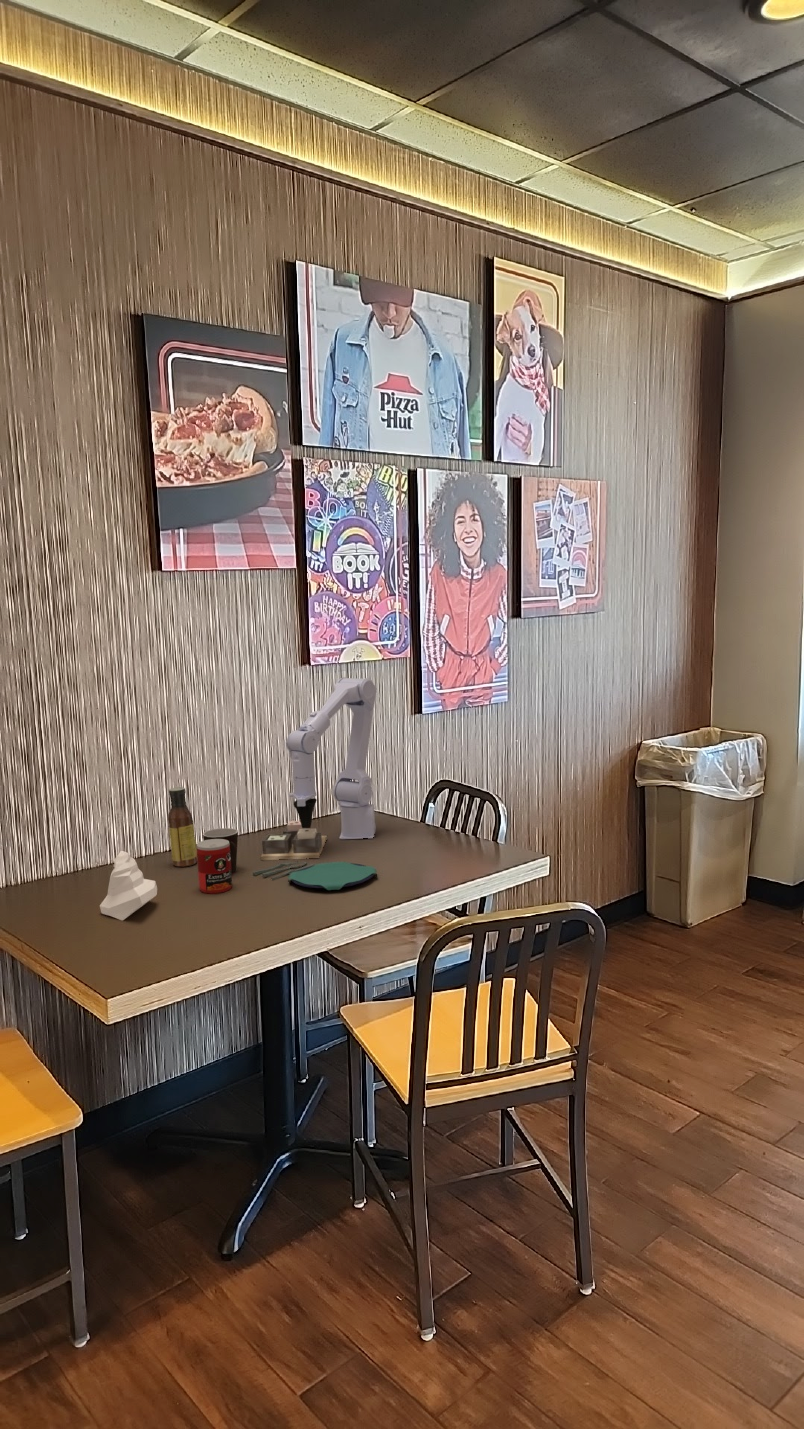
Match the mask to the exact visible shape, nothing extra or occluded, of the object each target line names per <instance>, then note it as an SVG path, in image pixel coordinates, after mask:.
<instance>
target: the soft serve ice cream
mask: <svg viewBox="0 0 804 1429" xmlns="http://www.w3.org/2000/svg"><path fill="white" fill-rule="evenodd" d="M112 862H113V863H114V864H113V865H112V866H113V867H114V868H113V869H112V871H111V874H110V877H109V883H108V888H107V895H106V896H105V898H104V899H103V900H102V901H101V903H100V905H99V909H100V913H101V914H102V915H104V916H105V915H106V916H110V917H112V918H115V919H117V920H119V921H124V920H126V919H127V918H128V917H130V916H131V915H133V913H135V912H136V911H138V910H139V909H140V908H142V907H144V905H146V904H147V903H148V902H150V901H151V900H152V899H154V898H155V897H157V893H158V886H157V882H156V880H152V879H147V878H144V874H143V872H142V870H140V869H139V866H138V863H137V861H136V860H135V858H133V857H132V856H131V855H130V853H129V852H126V851H123V850H120V851H119V853H118V854H117V856H116V857H115V858H114V860H113V861H112Z"/></svg>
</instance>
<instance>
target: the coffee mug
mask: <svg viewBox="0 0 804 1429" xmlns="http://www.w3.org/2000/svg"><path fill="white" fill-rule="evenodd" d="M238 836H239V830H238V829H236V828H231V827H222V828H221V827H219V828H214V829H210V830H206V831H204V832H203V833H202V838H203V841H204V840H210V839H225V840H228V841H229V844H230V857H231V873H232V874H234V873H236V872H237V860H238V859H237V858H238V857H237V856H238V840H239V838H238Z"/></svg>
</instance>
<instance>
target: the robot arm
mask: <svg viewBox="0 0 804 1429" xmlns="http://www.w3.org/2000/svg"><path fill="white" fill-rule="evenodd" d="M376 695H377V687H376V685H375V683H374V681H373V680H372V679H371V678H370V677H369V678H368V677H364V678H357V677H356V678H355V677H354V678H353V677H344V676H343V677H341V678H339V679H337V682H335V684H333V691H332V693H331V695H330V696H329V698H328V699H327V700H326V701H325V703H324V705H323V706H322V707H321V709H319V710H315V711H312V712H310V714H309V716H308V717H307V719H306V720H305V721H304V722H303V724H301V725H300V726H299V728H298V729H297V730H293V731H292V732H291V733H289V734H288V736H287V737H286V738H287V739H286V742H285V746H286V749H287V751H288V752H289V757H290V759H291V768H292V785H293V789H292V790H293V792H290V793H289V794H288V795H289V797H291V798H292V797H293V798H294V799H295V800H294V801H293V807H294V808H295V809H296V812H297V814H298V818H299V821H300V822H301V826H302V828H310V827H311V828H312V822H313V821H312V820H313V815H314V809H315V806H316V804H317V801H318V800H317V798H316V796H317V791H316V776H315V775H316V774H315V755H314V754H315V752H316V751H317V749H318V747H319V743H320V741H321V737H322V736H323V735H324V733H325V732H327V730H328V728H330V726H331V719H332V717H334V716H335V714H336V713H338V711H339V710H341V708H342V707H344V705H345V706H346V707H347V708H349V709H350V710H351V711H352V713H353V716H352V721H351V728H350V729H351V730H350V735H349V736H350V737H349V742H348V743H349V744H348V749H347V756H346V764H345V768H344V769H343V770H342V771H341V772H340V773H338V774H337V779H336V782H335V784H334V786H333V798H334V800H335V801H337V802H338V806H340V821H341V823H340V824H341V833H340V834H339V835H340V836H339V838H338V839H339V840H359V839H360V840H362V839H363V838H368V839H374V838H375V835H374V834H376V831H377V829H376V828H377V826H376V823H375V822H376V821H375V806H374V804H373V803H370V801H371V800H372V798H373V797H372V796H373V788H372V781H373V780H372V778H371V776H370V775H369V774H368V773H367V772H366V764H367V759H368V750H369V744H370V736H371V729H372V723H373V722H372V721H373V715H374V709H375V702H376ZM314 797H315V798H314ZM373 837H374V838H373Z"/></svg>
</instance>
